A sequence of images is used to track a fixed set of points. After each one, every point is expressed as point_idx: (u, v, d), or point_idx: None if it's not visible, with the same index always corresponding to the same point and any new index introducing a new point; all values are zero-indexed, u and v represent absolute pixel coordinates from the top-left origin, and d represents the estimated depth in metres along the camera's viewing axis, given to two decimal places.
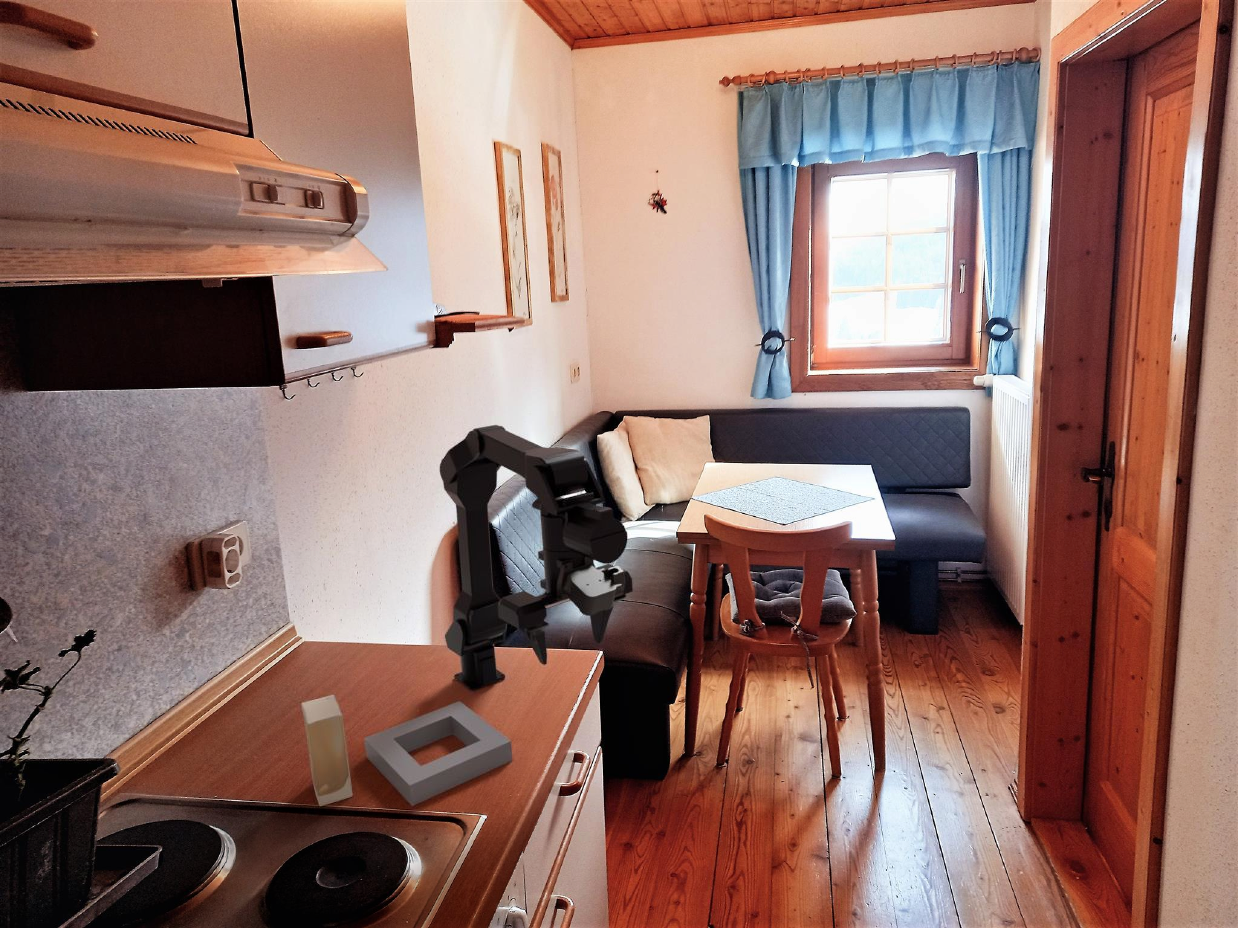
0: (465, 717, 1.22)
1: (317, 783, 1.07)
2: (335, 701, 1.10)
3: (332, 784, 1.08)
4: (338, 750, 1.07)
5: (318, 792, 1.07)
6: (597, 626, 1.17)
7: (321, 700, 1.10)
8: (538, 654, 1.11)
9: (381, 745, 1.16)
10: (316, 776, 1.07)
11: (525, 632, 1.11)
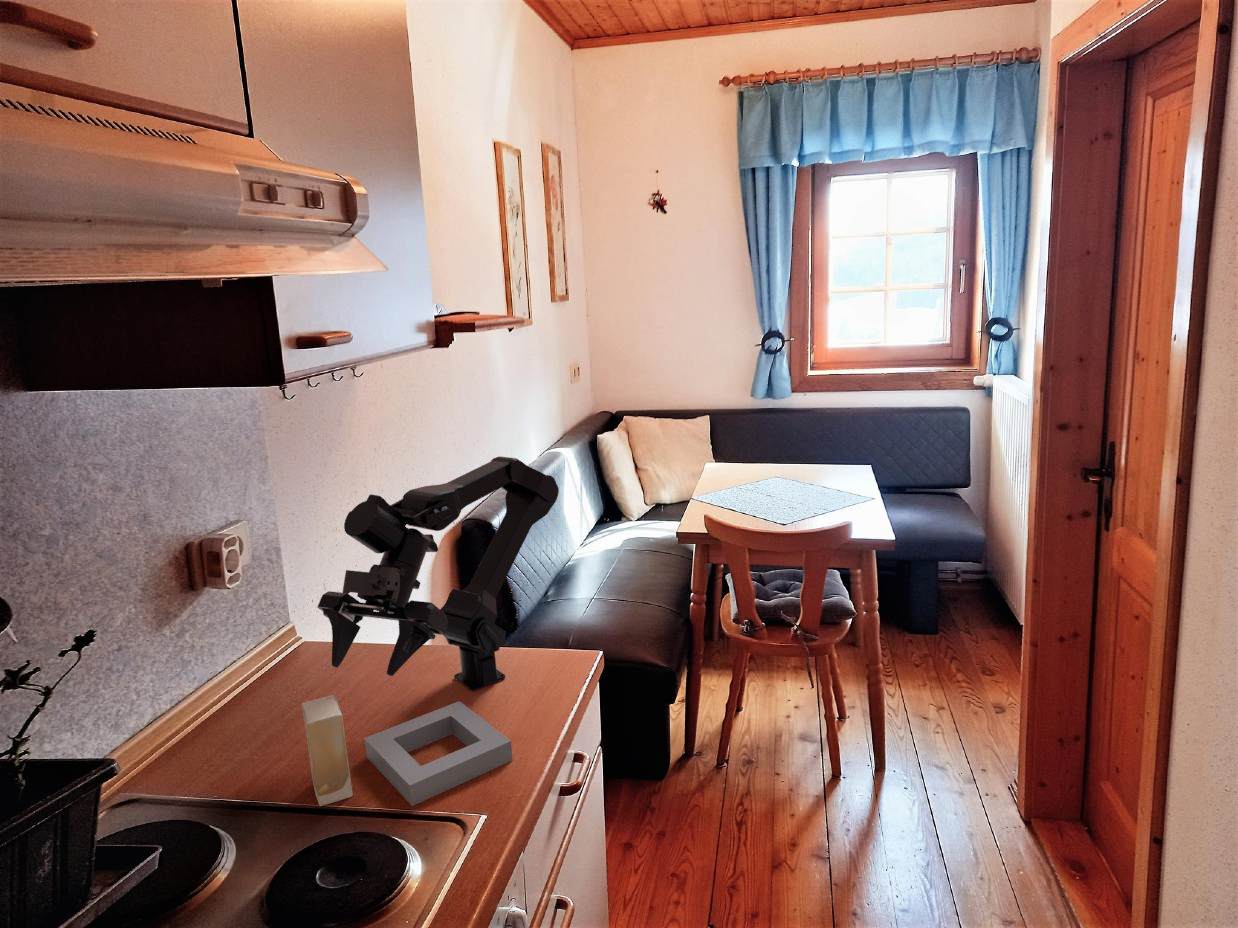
0: (465, 717, 1.22)
1: (317, 783, 1.07)
2: (335, 701, 1.10)
3: (332, 784, 1.08)
4: (338, 750, 1.07)
5: (318, 792, 1.07)
6: None
7: (321, 700, 1.10)
8: None
9: (381, 745, 1.16)
10: (316, 776, 1.07)
11: None
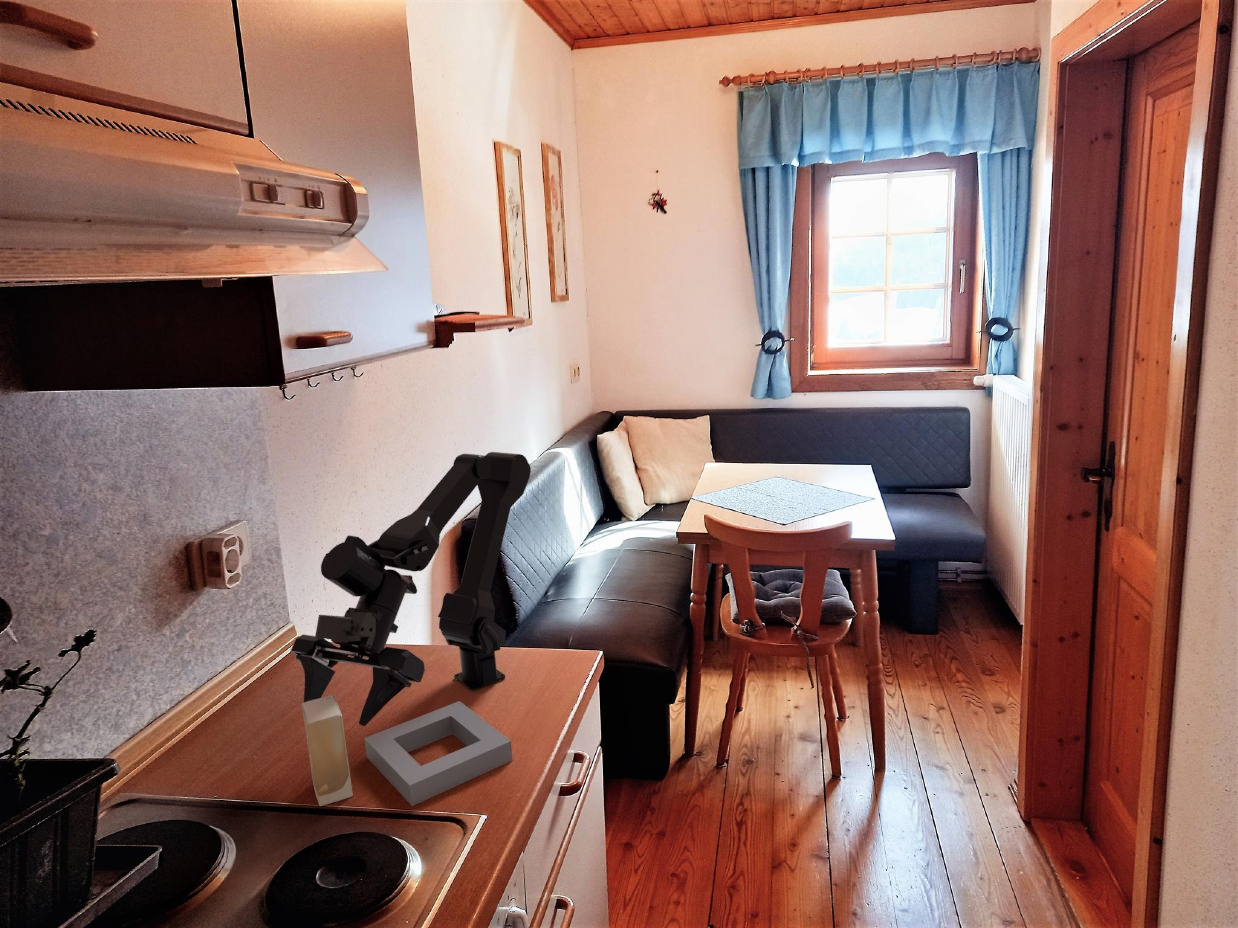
0: (465, 717, 1.22)
1: (317, 783, 1.07)
2: (335, 701, 1.10)
3: (332, 784, 1.08)
4: (337, 750, 1.07)
5: (318, 792, 1.07)
6: None
7: (321, 700, 1.10)
8: None
9: (381, 745, 1.16)
10: (316, 776, 1.07)
11: None
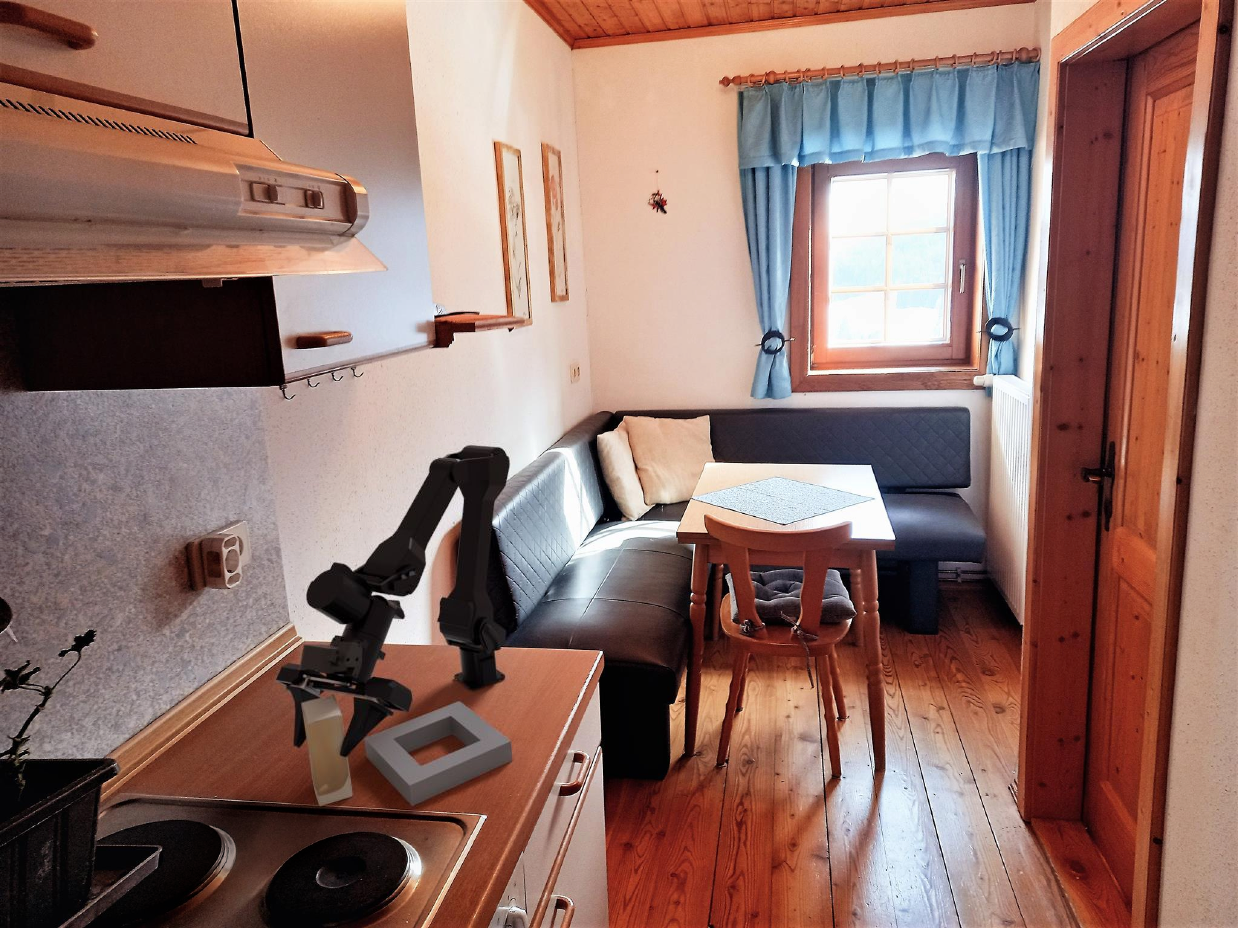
0: (465, 717, 1.22)
1: (317, 783, 1.07)
2: (335, 701, 1.10)
3: (332, 784, 1.08)
4: (337, 750, 1.07)
5: (318, 792, 1.07)
6: None
7: (321, 700, 1.10)
8: None
9: (381, 745, 1.16)
10: (316, 776, 1.07)
11: None
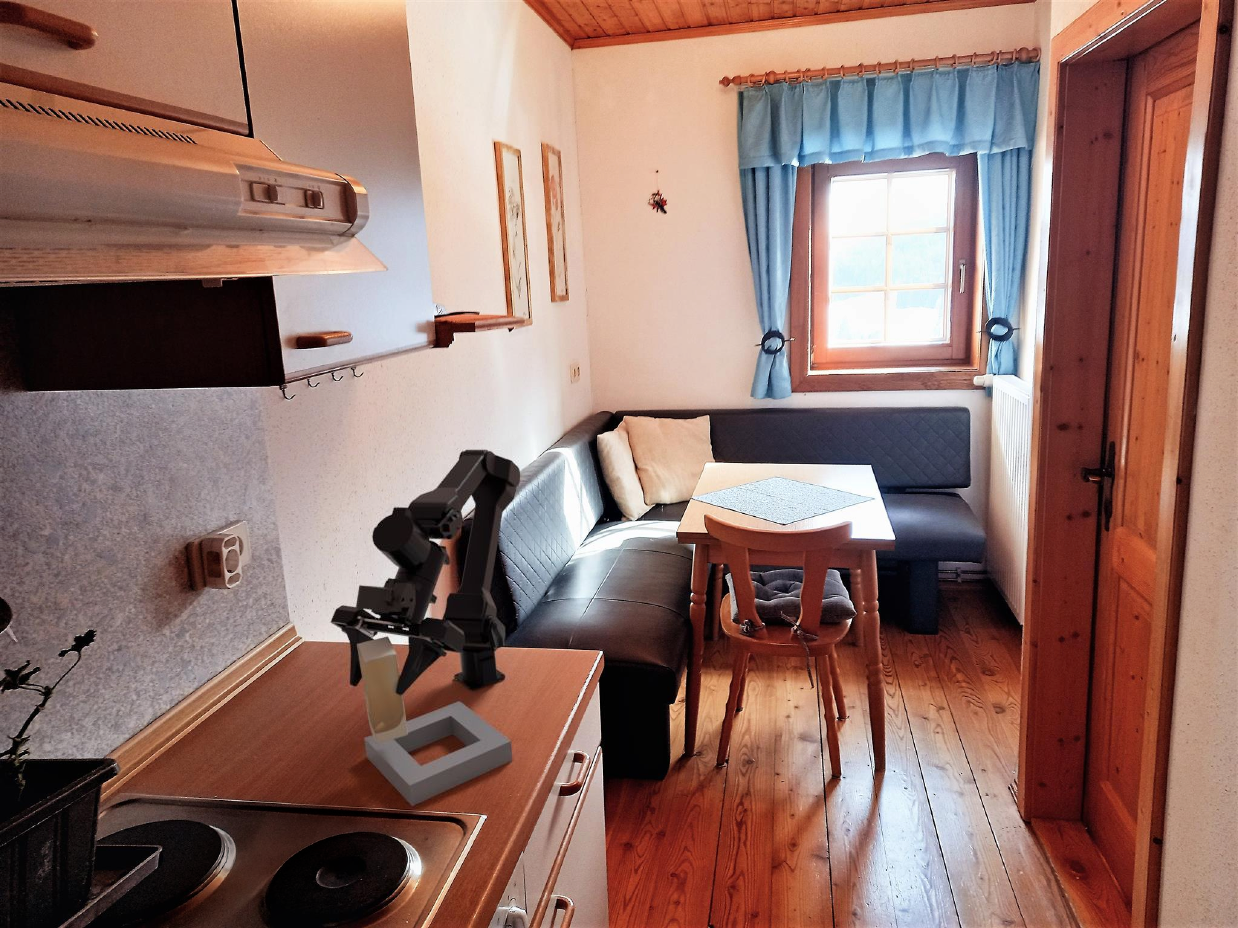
0: (465, 717, 1.22)
1: (374, 721, 1.09)
2: (389, 642, 1.12)
3: (388, 722, 1.10)
4: (393, 688, 1.09)
5: (375, 730, 1.10)
6: None
7: (376, 641, 1.12)
8: None
9: (381, 745, 1.16)
10: (373, 714, 1.09)
11: None
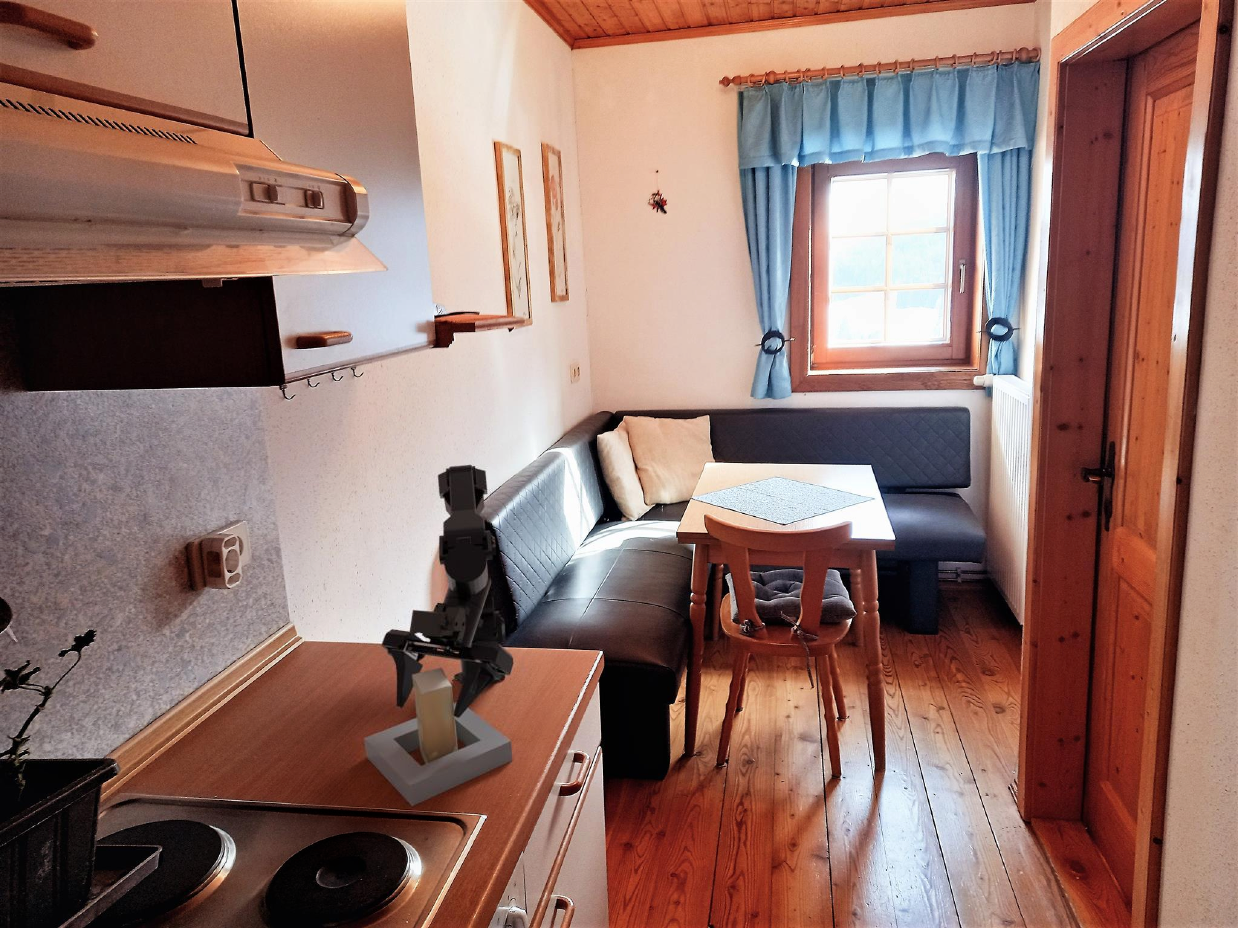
0: (465, 717, 1.22)
1: (428, 750, 1.13)
2: (443, 673, 1.16)
3: (441, 751, 1.14)
4: (447, 719, 1.13)
5: (428, 758, 1.14)
6: None
7: (430, 672, 1.16)
8: None
9: (381, 745, 1.16)
10: (427, 743, 1.13)
11: None
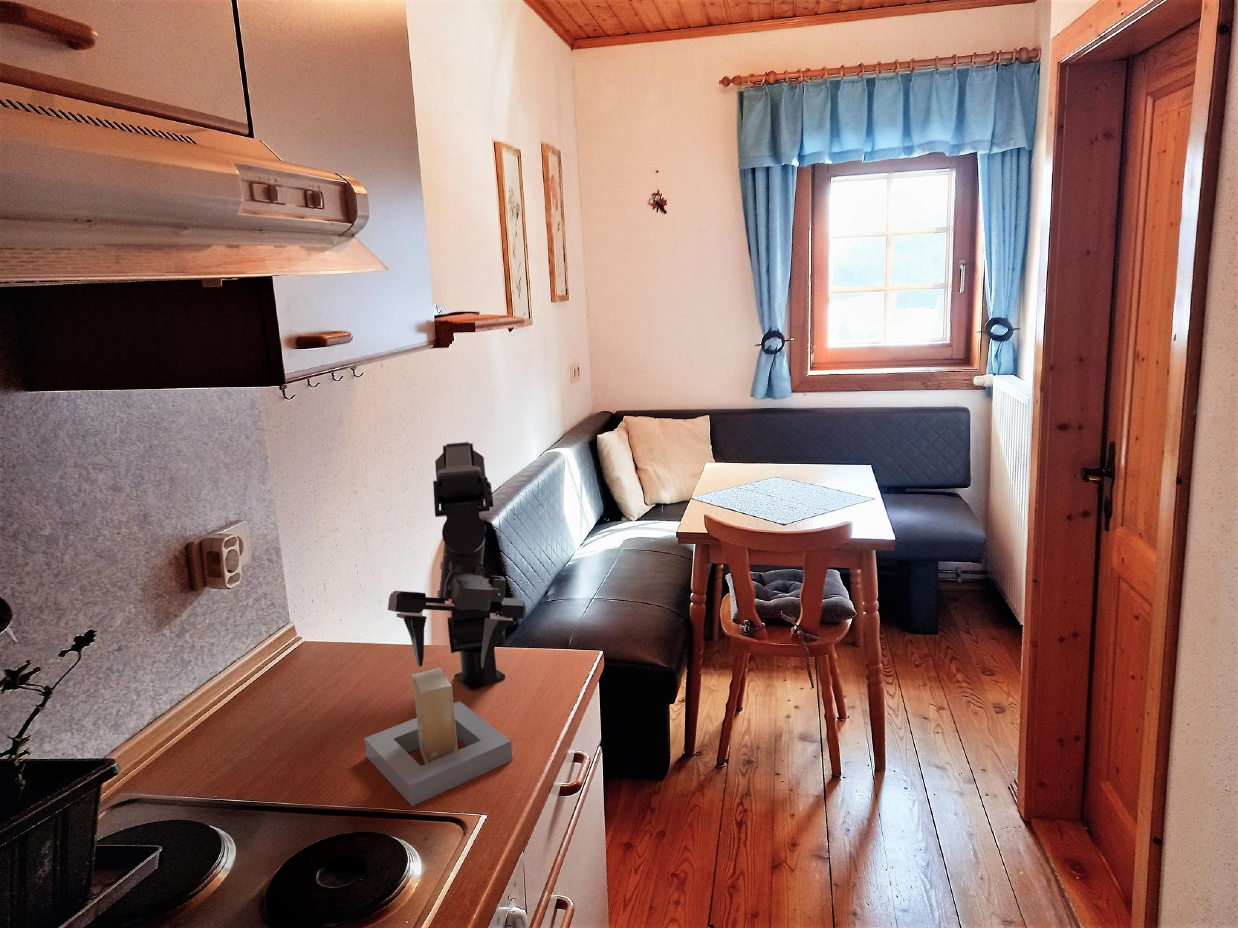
0: (465, 717, 1.22)
1: (428, 750, 1.13)
2: (443, 673, 1.16)
3: (441, 751, 1.14)
4: (447, 719, 1.13)
5: (428, 758, 1.14)
6: (484, 650, 1.20)
7: (430, 672, 1.16)
8: (416, 654, 1.16)
9: (381, 745, 1.16)
10: (427, 743, 1.13)
11: (410, 631, 1.17)
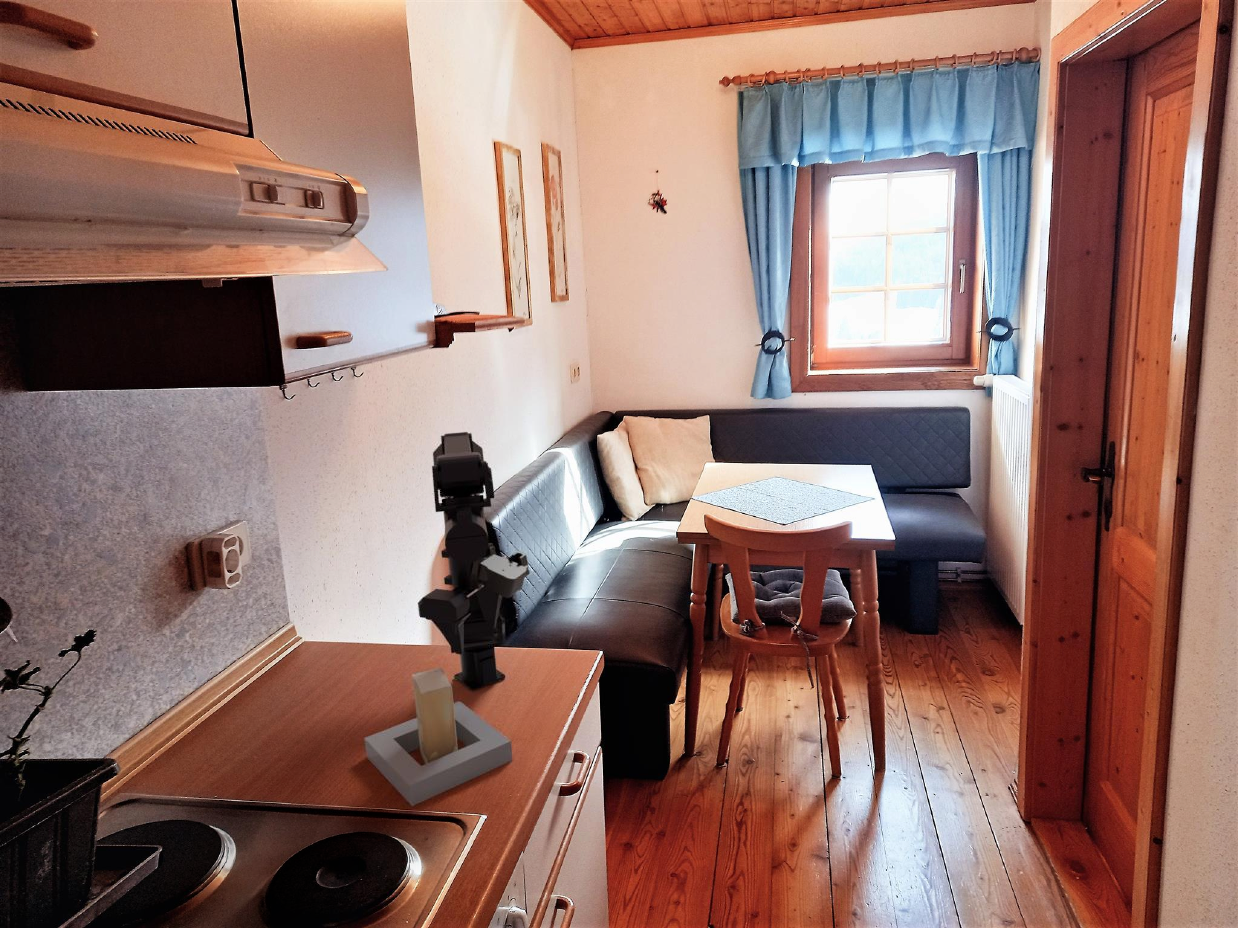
0: (465, 717, 1.22)
1: (428, 750, 1.13)
2: (443, 673, 1.16)
3: (441, 751, 1.14)
4: (447, 719, 1.13)
5: (428, 759, 1.14)
6: (490, 612, 1.27)
7: (430, 672, 1.16)
8: (455, 645, 1.19)
9: (381, 745, 1.16)
10: (427, 743, 1.13)
11: (441, 627, 1.18)
